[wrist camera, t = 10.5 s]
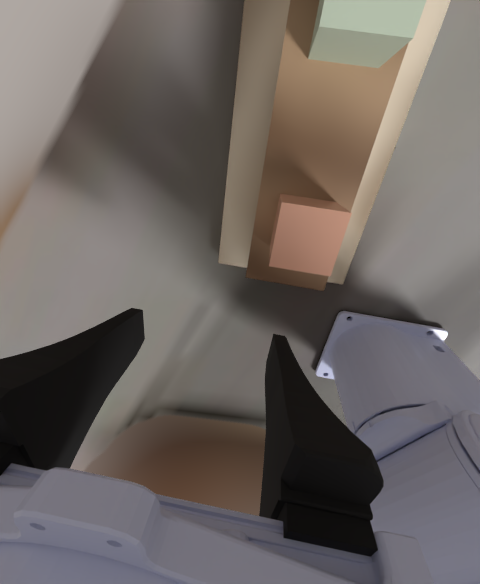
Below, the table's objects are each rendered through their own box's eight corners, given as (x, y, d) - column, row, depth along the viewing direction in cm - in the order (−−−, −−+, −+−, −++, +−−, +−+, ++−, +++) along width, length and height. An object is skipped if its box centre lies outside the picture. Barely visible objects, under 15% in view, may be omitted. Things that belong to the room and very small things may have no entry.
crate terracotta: (336, 202, 13) (352, 213, 11) (320, 255, 15) (330, 276, 12) (280, 193, 13) (281, 202, 11) (269, 247, 15) (268, 266, 12)
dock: (458, -53, 12) (480, -79, 11) (338, 276, 21) (342, 284, 20) (256, -76, 13) (254, -104, 11) (221, 256, 21) (218, 262, 20)
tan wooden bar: (303, -65, 12) (316, -161, 8) (411, -52, 11) (472, -145, 8) (250, 255, 19) (245, 277, 16) (314, 266, 19) (323, 291, 16)
